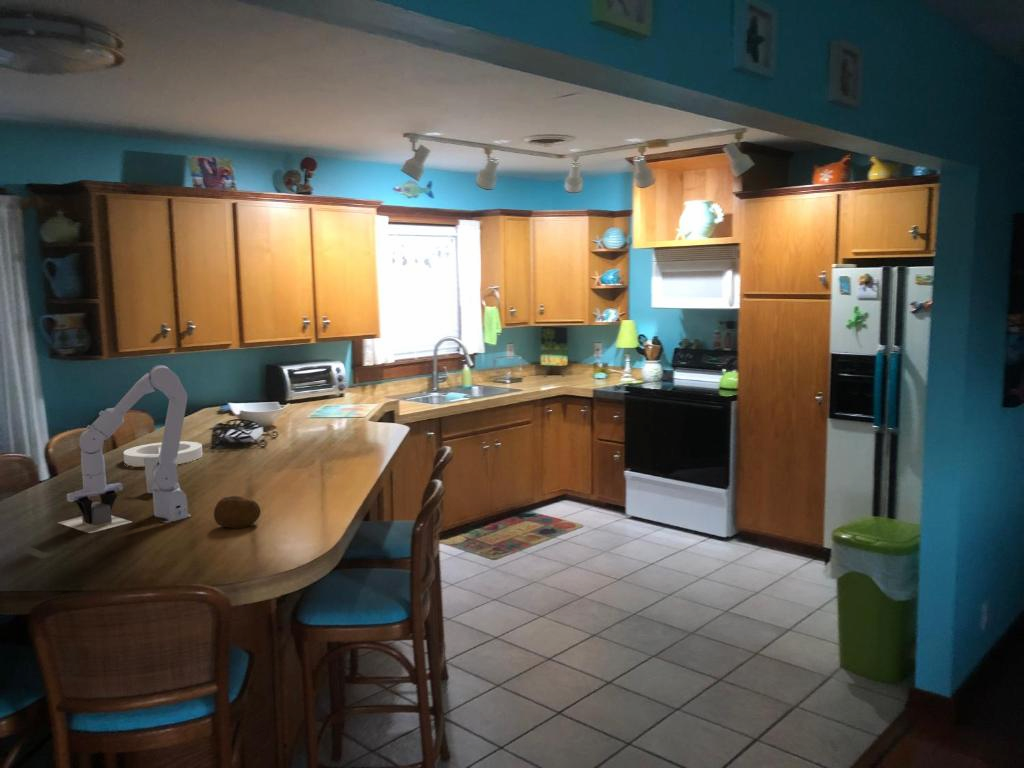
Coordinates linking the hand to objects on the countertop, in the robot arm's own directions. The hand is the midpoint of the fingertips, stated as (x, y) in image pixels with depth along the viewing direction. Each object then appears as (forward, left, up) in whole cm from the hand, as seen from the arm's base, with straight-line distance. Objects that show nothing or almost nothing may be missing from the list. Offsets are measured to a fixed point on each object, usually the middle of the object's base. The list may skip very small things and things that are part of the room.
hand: (97, 520), depth 220 cm
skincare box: (+22, -31, -2) cm, 38 cm away
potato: (-33, -21, -2) cm, 39 cm away
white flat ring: (+66, -60, -2) cm, 89 cm away
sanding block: (0, 0, -1) cm, 1 cm away
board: (+2, 0, -2) cm, 3 cm away
